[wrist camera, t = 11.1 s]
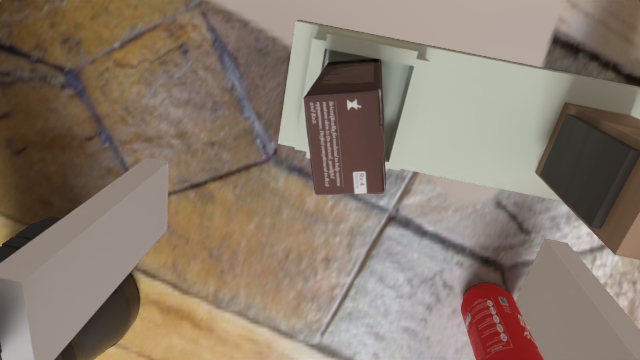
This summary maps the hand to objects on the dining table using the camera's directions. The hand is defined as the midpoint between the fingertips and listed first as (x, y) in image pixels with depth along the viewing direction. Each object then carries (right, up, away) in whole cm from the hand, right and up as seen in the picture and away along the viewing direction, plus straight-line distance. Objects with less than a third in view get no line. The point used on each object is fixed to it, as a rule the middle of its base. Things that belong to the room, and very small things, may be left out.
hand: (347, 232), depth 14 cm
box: (+2, +9, +19) cm, 21 cm away
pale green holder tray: (+11, +7, +20) cm, 24 cm away
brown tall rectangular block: (+20, +5, +18) cm, 27 cm away
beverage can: (+16, -10, +28) cm, 34 cm away
